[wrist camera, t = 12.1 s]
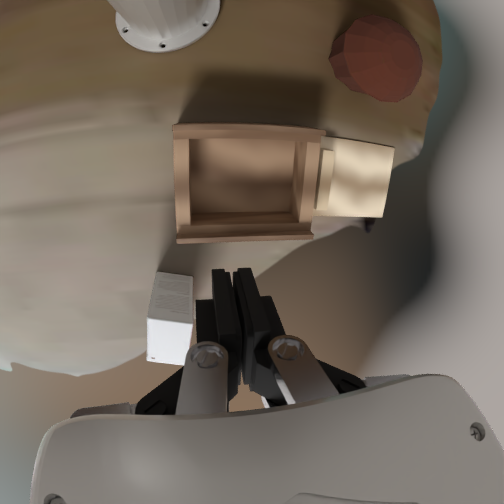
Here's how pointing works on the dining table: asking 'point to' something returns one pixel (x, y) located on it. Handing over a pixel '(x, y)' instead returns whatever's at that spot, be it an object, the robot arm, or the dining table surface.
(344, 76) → the muffin
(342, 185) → the lid
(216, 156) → the walnut box
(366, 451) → the robot arm
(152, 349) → the small box
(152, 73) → the dining table surface
